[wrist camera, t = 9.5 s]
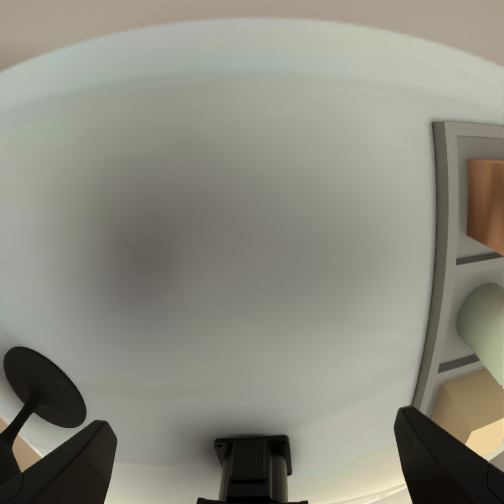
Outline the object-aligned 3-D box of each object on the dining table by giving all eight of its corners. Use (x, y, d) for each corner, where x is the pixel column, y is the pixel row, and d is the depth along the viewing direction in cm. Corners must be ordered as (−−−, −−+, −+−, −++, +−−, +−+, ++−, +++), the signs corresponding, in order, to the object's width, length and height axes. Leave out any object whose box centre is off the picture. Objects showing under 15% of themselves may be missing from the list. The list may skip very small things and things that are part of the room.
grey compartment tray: (481, 412, 24) (506, 453, 17) (402, 438, 24) (421, 488, 18) (529, 131, 15) (590, 136, 9) (432, 122, 16) (497, 118, 10)
